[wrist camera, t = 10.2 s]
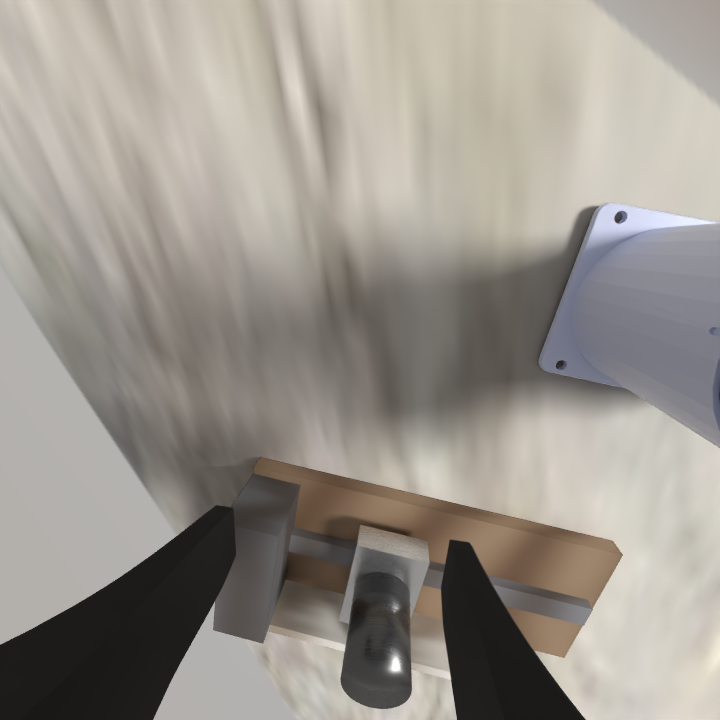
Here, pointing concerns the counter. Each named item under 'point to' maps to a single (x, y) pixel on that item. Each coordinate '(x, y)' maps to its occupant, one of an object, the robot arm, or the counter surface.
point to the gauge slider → (381, 616)
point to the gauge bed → (406, 517)
